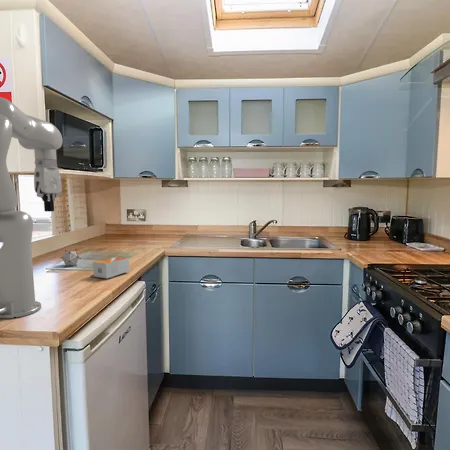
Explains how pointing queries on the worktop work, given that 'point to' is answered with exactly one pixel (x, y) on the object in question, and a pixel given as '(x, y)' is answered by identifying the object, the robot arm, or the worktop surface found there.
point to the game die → (70, 258)
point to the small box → (110, 267)
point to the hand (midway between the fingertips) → (49, 211)
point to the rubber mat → (100, 277)
